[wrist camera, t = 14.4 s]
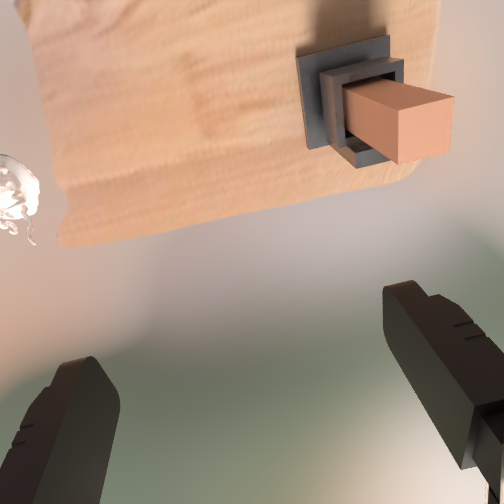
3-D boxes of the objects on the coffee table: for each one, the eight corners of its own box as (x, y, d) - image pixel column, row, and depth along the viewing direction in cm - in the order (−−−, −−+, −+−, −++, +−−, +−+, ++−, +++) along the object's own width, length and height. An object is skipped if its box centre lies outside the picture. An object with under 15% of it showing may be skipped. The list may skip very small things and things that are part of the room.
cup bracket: (295, 57, 39) (321, 64, 30) (385, 34, 38) (436, 35, 30) (307, 147, 44) (331, 174, 36) (386, 127, 44) (429, 150, 35)
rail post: (336, 85, 37) (398, 110, 25) (373, 76, 37) (454, 96, 25) (339, 124, 39) (398, 164, 27) (374, 115, 39) (449, 152, 27)
